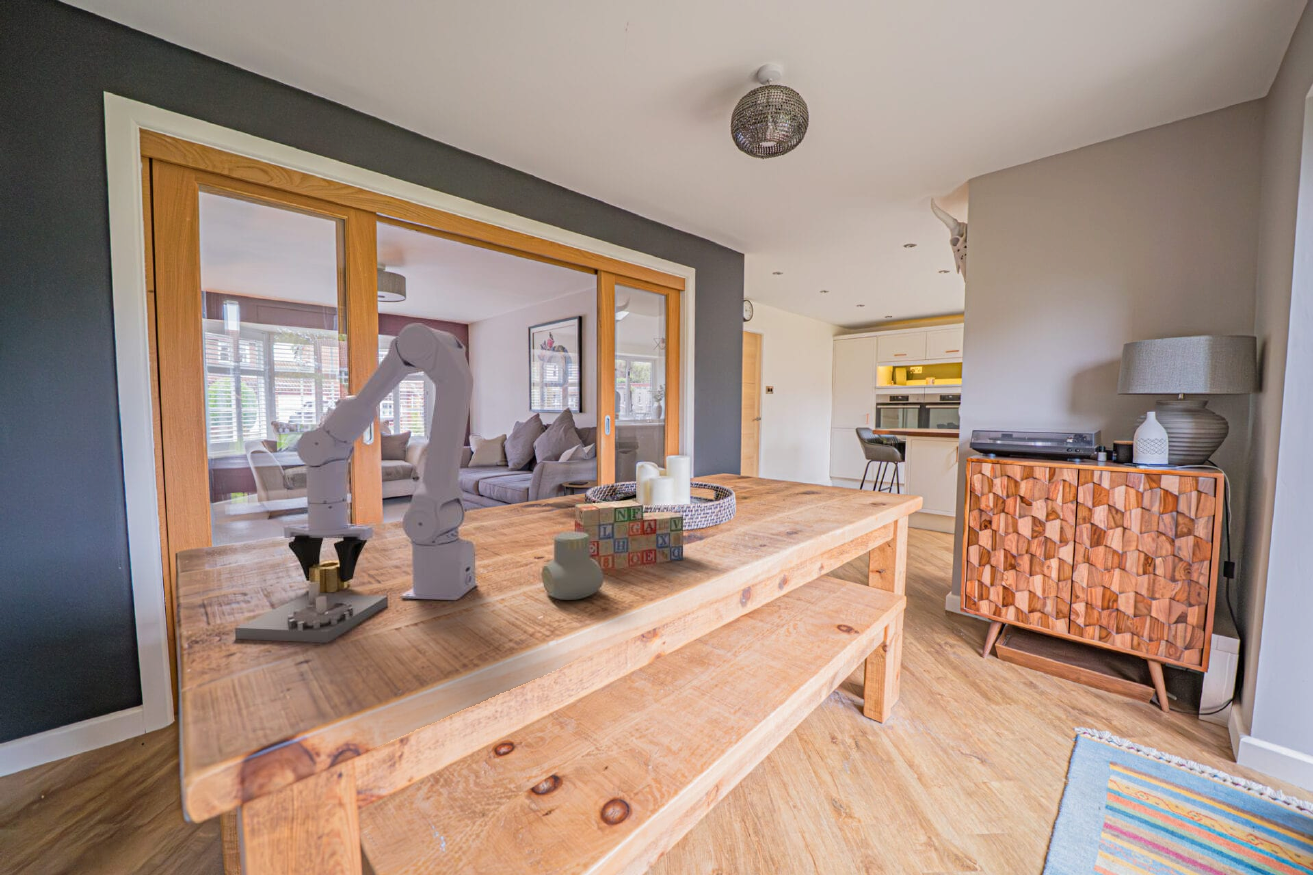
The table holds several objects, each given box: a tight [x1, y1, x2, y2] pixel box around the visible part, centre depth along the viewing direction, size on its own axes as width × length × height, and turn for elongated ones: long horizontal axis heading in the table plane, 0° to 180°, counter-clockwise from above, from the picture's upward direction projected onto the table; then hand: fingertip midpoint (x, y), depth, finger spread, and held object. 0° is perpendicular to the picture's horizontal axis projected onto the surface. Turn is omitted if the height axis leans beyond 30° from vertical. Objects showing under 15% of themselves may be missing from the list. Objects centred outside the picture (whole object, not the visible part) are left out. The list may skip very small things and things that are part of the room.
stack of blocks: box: [574, 499, 684, 571], centre depth 103 cm, size 21×6×12 cm, turn 114°
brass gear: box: [308, 559, 351, 594], centre depth 87 cm, size 6×6×4 cm
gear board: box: [234, 582, 389, 644], centre depth 73 cm, size 13×13×4 cm
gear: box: [287, 601, 353, 631], centre depth 70 cm, size 8×8×1 cm
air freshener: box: [541, 531, 604, 601], centre depth 85 cm, size 11×8×10 cm
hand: (329, 579), depth 87 cm, fingers closed on brass gear, 6 cm apart
